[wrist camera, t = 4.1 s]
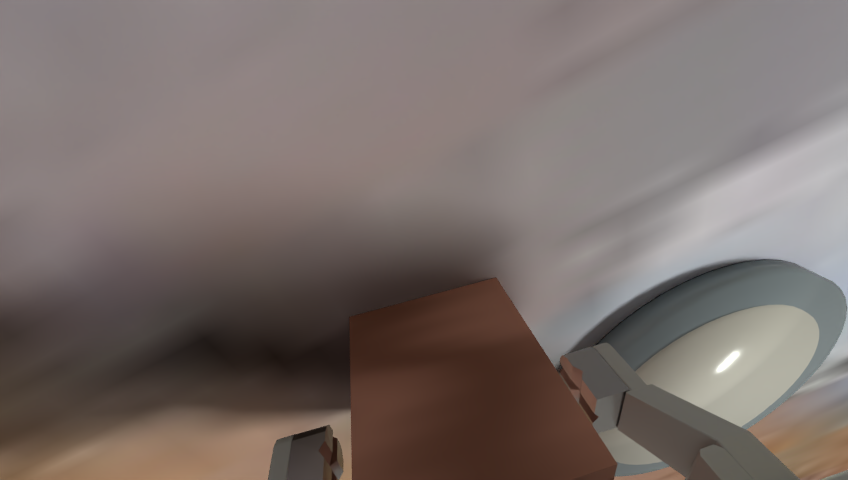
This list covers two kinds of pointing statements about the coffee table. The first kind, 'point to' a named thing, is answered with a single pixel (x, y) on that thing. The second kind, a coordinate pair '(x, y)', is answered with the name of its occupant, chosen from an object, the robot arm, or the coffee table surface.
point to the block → (463, 395)
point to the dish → (729, 344)
